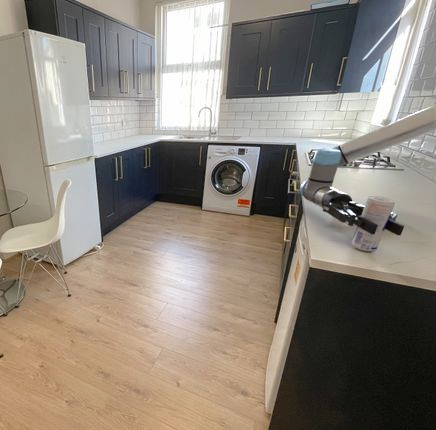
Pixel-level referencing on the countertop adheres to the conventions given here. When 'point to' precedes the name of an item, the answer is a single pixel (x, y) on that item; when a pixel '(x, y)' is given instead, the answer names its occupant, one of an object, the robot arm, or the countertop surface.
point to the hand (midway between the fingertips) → (387, 230)
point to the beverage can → (377, 213)
